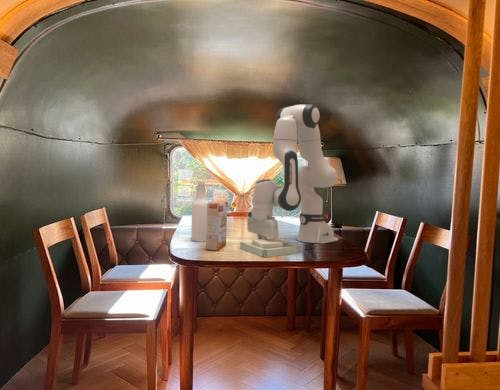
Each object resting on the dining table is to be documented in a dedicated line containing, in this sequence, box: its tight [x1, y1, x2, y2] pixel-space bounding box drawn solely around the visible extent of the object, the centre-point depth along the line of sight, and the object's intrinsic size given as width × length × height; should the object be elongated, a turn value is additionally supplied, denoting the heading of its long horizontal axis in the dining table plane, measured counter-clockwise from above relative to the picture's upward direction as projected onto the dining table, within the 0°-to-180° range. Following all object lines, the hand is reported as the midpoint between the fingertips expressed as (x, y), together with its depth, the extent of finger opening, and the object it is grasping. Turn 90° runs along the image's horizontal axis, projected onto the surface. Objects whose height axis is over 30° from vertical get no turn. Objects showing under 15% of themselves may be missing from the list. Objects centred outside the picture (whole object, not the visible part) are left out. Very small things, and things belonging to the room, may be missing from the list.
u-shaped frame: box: [239, 238, 301, 259], centre depth 152 cm, size 19×19×3 cm
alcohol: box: [190, 180, 210, 243], centre depth 170 cm, size 9×9×30 cm
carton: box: [251, 238, 283, 249], centre depth 150 cm, size 10×10×5 cm
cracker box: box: [205, 200, 229, 252], centre depth 155 cm, size 14×6×21 cm, turn 168°
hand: (261, 244), depth 157 cm, fingers closed
